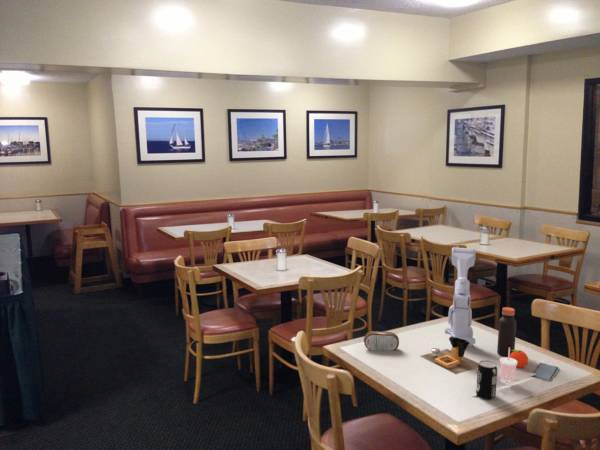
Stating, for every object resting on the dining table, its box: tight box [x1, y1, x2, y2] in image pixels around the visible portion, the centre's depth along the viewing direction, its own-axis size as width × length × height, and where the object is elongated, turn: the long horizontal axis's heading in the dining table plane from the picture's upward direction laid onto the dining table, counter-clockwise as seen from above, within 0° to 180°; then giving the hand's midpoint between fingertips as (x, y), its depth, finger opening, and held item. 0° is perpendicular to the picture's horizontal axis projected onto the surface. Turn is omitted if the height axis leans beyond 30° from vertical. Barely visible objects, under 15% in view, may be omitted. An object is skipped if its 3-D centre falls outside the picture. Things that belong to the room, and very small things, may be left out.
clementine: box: [509, 349, 529, 369], centre depth 210 cm, size 8×7×7 cm
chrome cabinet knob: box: [430, 347, 441, 359], centre depth 216 cm, size 3×3×4 cm
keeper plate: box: [419, 348, 479, 375], centre depth 214 cm, size 16×20×1 cm
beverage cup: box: [499, 347, 517, 387], centre depth 194 cm, size 6×6×14 cm
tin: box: [363, 330, 400, 351], centre depth 225 cm, size 15×3×8 cm, turn 84°
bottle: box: [496, 306, 517, 357], centre depth 222 cm, size 7×7×20 cm
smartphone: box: [530, 362, 560, 382], centre depth 205 cm, size 7×1×15 cm
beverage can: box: [475, 360, 499, 400], centre depth 184 cm, size 7×7×12 cm
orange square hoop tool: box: [434, 346, 465, 368], centre depth 211 cm, size 12×7×5 cm, turn 120°
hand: (458, 355), depth 213 cm, fingers closed on orange square hoop tool
